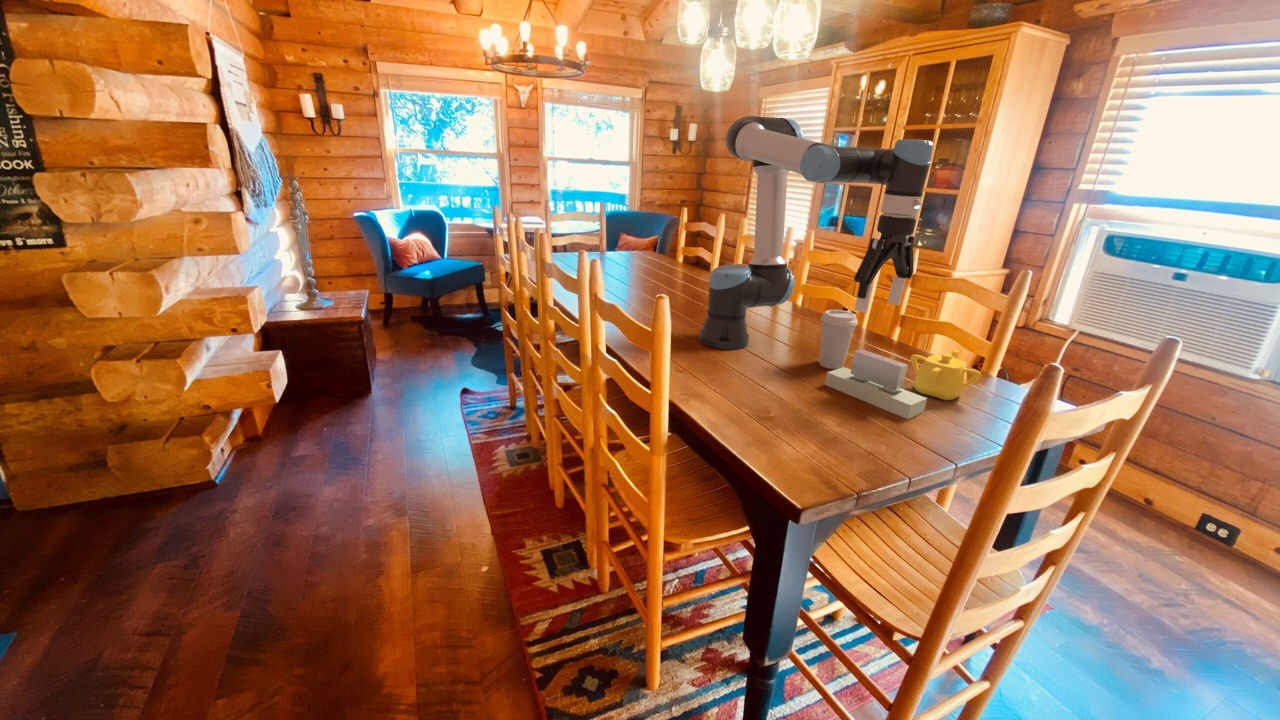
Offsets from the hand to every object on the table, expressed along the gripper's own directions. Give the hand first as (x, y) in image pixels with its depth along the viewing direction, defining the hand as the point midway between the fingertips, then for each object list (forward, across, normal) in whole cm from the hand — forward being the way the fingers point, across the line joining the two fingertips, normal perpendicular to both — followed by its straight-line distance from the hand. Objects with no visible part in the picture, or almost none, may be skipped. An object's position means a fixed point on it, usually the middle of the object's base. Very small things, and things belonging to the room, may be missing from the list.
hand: (877, 307), depth 124 cm
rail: (+22, -1, -5) cm, 22 cm away
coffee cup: (+22, +8, +14) cm, 28 cm away
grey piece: (+21, -1, -5) cm, 22 cm away
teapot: (+22, +17, -12) cm, 30 cm away
